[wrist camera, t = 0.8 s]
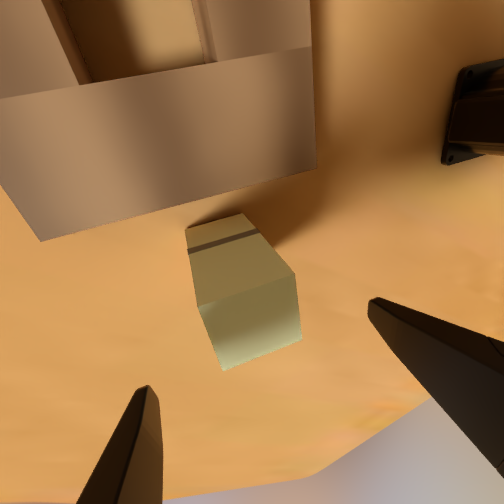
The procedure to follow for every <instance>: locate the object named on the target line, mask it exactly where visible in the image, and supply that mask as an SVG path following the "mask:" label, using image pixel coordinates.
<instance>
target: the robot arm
mask: <svg viewBox="0 0 504 504" xmlns="http://www.w3.org/2000/svg"><path fill="white" fill-rule="evenodd" d="M486 154H489V155H500V156H504V59H500V60H495V61H490V62H486V63H481V64H476V65H471V66H467V67H464V68H463V69H462V70H461V71H460V73H459V75H458V79H457V84H456V89H455V94H454V99H453V104H452V109H451V113H450V118H449V123H448V128H447V133H446V138H445V143H444V148H443V153H442V158H441V163H442V164H443V165H452V164H456V163H459V162H462V161H466V160H469V159H472V158H476V157H479V156H483V155H486ZM367 314H368V318H369V320H370V321H371V323H372V324H373V325H374V327H375V328H376V330H377V331H378V332H379V334H380V335H381V336H382V338H383V339H384V341H385V342H386V343H387V345H388V346H389V347H390V349H391V350H392V351H393V353H394V354H395V355H396V356H397V357H398V358H399V360H400V361H401V362H402V363H403V364H404V365H405V366H406V367H407V369H408V370H409V371H410V372H411V373H412V374H413V375H414V377H415V378H416V379H417V380H418V381H419V382H420V383H421V385H422V386H423V387H424V388H425V389H426V390H427V391H428V393H429V394H430V395H431V396H432V397H433V398H434V399H435V400H436V402H437V403H438V404H439V405H440V406H441V407H442V408H443V409H444V411H445V412H446V413H447V414H448V415H449V416H450V417H451V419H452V420H453V421H454V422H455V423H456V424H457V426H458V427H459V428H460V429H461V430H462V431H463V432H464V433H465V435H466V436H467V437H468V438H469V439H470V440H471V441H472V443H473V444H474V445H475V446H476V447H477V448H478V449H479V451H480V452H481V453H482V454H483V455H484V456H485V457H486V458H487V460H488V461H489V462H490V463H491V464H492V465H493V466H494V468H496V470H497V471H498V472H499V474H500V475H501V476H502V477H503V478H504V342H502V341H499V340H497V339H494V338H491V337H486V336H485V335H483V334H480V333H477V332H474V331H472V330H469V329H466V328H463V327H460V326H458V325H455V324H452V323H449V322H447V321H444V320H441V319H438V318H436V317H433V316H430V315H427V314H425V313H422V312H419V311H416V310H414V309H411V308H408V307H405V306H402V305H400V304H397V303H394V302H391V301H389V300H386V299H383V298H380V297H376V298H374V299H371V300H369V302H368V313H367ZM162 495H163V441H162V429H161V418H160V406H159V400H158V397H157V395H156V394H155V392H154V391H153V390H152V388H151V387H150V386H149V385H146V386H143V387H141V388H138V389H137V390H136V391H135V393H134V395H133V396H132V398H131V400H130V402H129V404H128V406H127V408H126V410H125V412H124V414H123V415H122V417H121V419H120V421H119V423H118V425H117V427H116V429H115V431H114V432H113V434H112V436H111V438H110V440H109V442H108V444H107V446H106V448H105V450H104V451H103V453H102V455H101V457H100V459H99V461H98V463H97V465H96V467H95V468H94V470H93V472H92V474H91V476H90V478H89V480H88V482H87V484H86V486H85V487H84V489H83V491H82V493H81V495H80V497H79V499H78V501H77V503H76V504H162Z"/></svg>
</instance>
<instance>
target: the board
mask: <svg viewBox="0 0 504 504" xmlns="http://www.w3.org/2000/svg"><path fill="white" fill-rule="evenodd" d="M191 1H192V5H193V10H194V14H195V19H196V23H197V28H198V32H199V37H200V41H201V46H202V50H203V55H204V59H205V64H203V65H197V66H191V67H185V68H179V69H173V70H168V71H162V72H156V73H150V74H144V75H138V76H132V77H126V78H120V79H115V80H109V81H103V82H97V83H93V80H92V78H91V75H90V73H89V71H88V68H87V66H86V64H85V61H84V59H83V56H82V54H81V52H80V49H79V47H78V45H77V42H76V40H75V37H74V35H73V33H72V30H71V28H70V25H69V23H68V21H67V18H66V16H65V14H64V11H63V9H62V6H61V4H60V2H59V0H0V185H1V186H2V188H3V189H4V191H5V192H6V193H7V195H8V196H9V198H10V199H11V200H12V202H13V203H14V205H15V206H16V208H17V209H18V210H19V212H20V213H21V215H22V216H23V218H24V219H25V220H26V222H27V223H28V225H29V226H30V228H31V229H32V230H33V232H34V233H35V235H36V236H37V238H38V239H39V240H40V242H42V241H46V240H49V239H53V238H57V237H61V236H64V235H68V234H72V233H76V232H79V231H83V230H87V229H91V228H94V227H98V226H102V225H106V224H109V223H113V222H117V221H121V220H124V219H128V218H132V217H136V216H139V215H143V214H147V213H151V212H154V211H158V210H162V209H166V208H169V207H173V206H177V205H181V204H184V203H188V202H192V201H196V200H199V199H203V198H207V197H211V196H214V195H218V194H222V193H226V192H229V191H233V190H237V189H241V188H244V187H248V186H252V185H256V184H259V183H263V182H267V181H271V180H274V179H278V178H282V177H286V176H289V175H293V174H297V173H301V172H304V171H308V170H312V169H316V168H317V158H316V134H315V111H314V88H313V64H312V41H311V17H310V0H191Z"/></svg>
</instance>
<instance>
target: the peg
mask: <svg viewBox="0 0 504 504" xmlns="http://www.w3.org/2000/svg"><path fill="white" fill-rule="evenodd" d="M185 235H186V241H187V246H188V249H187V250H188V255H189V258H190V264H191V270H192V276H193V282H194V288H195V294H196V300H197V306H198V309H199V312H200V314H201V317H202V319H203V322H204V324H205V327H206V330H207V332H208V335H209V337H210V340H211V342H212V345H213V347H214V350H215V353H216V355H217V358H218V360H219V363H220V365H221V368H222V370H223V371H225V370H228V369H230V368H233V367H235V366H238V365H240V364H243V363H245V362H248V361H250V360H253V359H255V358H258V357H260V356H263V355H265V354H268V353H270V352H273V351H275V350H278V349H281V348H283V347H286V346H288V345H291V344H293V343H296V342H298V341H301V340H302V333H301V324H300V315H299V306H298V297H297V288H296V279H295V273H294V272H293V271H292V270H291V268H290V267H289V266H288V265H287V264H286V263H285V261H284V260H283V259H282V258H281V257H280V256H279V254H278V253H277V252H276V251H275V250H274V249H273V248H272V246H271V245H270V244H269V243H268V242H267V241H266V239H265V238H264V237H263V236H262V235H261V234H260V231H259V230H258V229H257V228H255V227H254V226H253V224H252V223H251V222H250V221H249V220H248V219H247V217H246V216H245V215H244V214H243V213H241V214H237V215H234V216H230V217H227V218H223V219H220V220H216V221H213V222H209V223H206V224H202V225H199V226H195V227H192V228H188V229H185Z"/></svg>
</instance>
